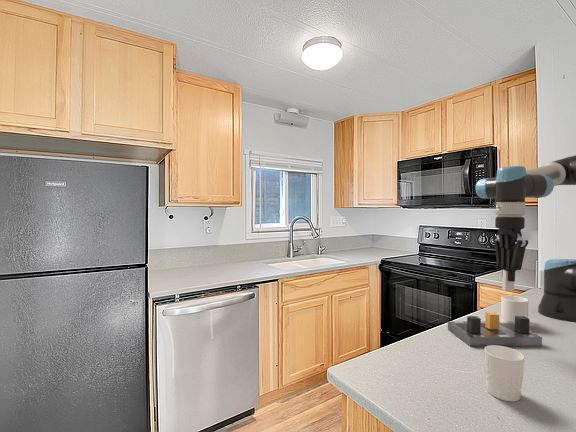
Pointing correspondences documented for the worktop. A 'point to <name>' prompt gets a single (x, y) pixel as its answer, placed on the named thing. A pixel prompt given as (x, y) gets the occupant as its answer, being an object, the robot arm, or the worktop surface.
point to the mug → (513, 307)
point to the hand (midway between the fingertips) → (508, 290)
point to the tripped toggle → (492, 320)
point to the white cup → (504, 372)
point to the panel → (495, 333)
